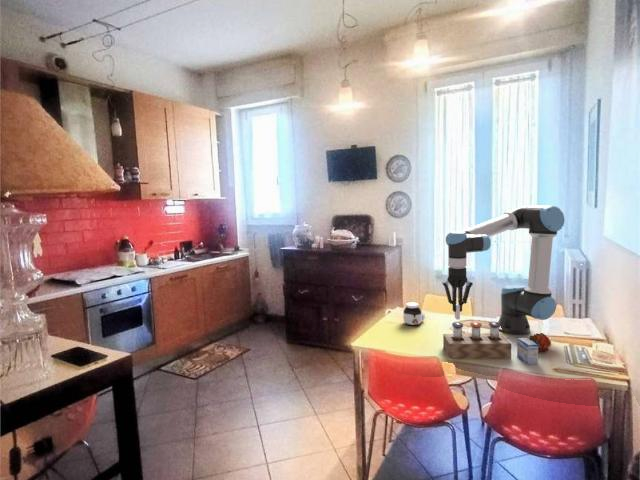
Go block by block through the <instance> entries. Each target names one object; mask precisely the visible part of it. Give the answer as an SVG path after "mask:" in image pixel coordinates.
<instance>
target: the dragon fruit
mask: <svg viewBox="0 0 640 480" xmlns="http://www.w3.org/2000/svg"><path fill="white" fill-rule="evenodd" d="M528 339H529V340H531V341H533V342H534V343H536V344H538V353H539V352H542V351H543V352H548V351H549V347H551V346H552V342H551V341H552V340H550V338H549V337H548V336H547V335H546V334H545V333H542V332H540V333H538V332H537V333H534V334H533V335H530V336H529V338H528Z"/></svg>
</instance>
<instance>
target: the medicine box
mask: <svg viewBox="0 0 640 480" xmlns="http://www.w3.org/2000/svg"><path fill="white" fill-rule="evenodd" d="M529 339H530V338H528V337H519V338H517V348H516V349H517V352H516V353H517V354H516V357H517V359H519V360H521V361H523V362H524V363H525V364H526V365H528V366H529V365H537V364H538V363H539V362H538V361H539V352H538V344H536V343H534V342H533V341H531V340H529Z"/></svg>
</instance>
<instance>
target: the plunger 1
mask: <svg viewBox="0 0 640 480" xmlns="http://www.w3.org/2000/svg"><path fill="white" fill-rule="evenodd" d="M451 325H452V327H453V332H452V334H453V339H454V341H462V334H463V328H464V323H463V322H459V321H454V322H452V323H451Z"/></svg>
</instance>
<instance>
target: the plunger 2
mask: <svg viewBox="0 0 640 480" xmlns="http://www.w3.org/2000/svg"><path fill="white" fill-rule="evenodd" d="M470 327H471V334H472V341H480V334H481V327H482V323H481V322H478V321H472V322H470Z"/></svg>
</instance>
